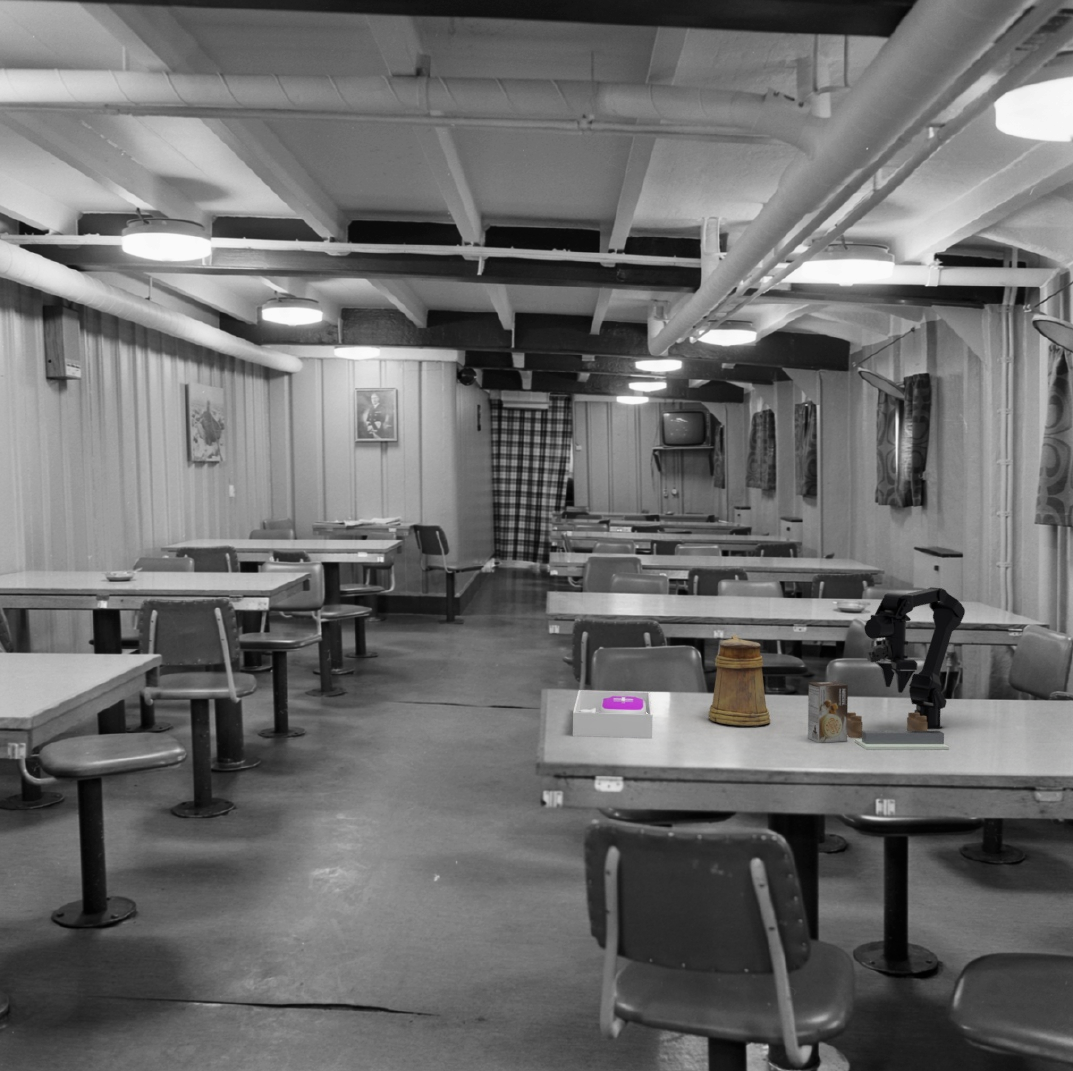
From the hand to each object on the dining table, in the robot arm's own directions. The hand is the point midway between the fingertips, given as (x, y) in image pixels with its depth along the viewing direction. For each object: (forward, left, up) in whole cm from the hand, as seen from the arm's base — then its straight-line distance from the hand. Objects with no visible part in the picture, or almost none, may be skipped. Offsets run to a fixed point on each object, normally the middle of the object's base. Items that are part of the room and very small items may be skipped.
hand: (893, 689), depth 306 cm
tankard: (+42, -17, -13) cm, 47 cm away
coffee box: (+23, +10, -13) cm, 28 cm away
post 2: (-6, +4, -12) cm, 14 cm away
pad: (+4, +17, -12) cm, 22 cm away
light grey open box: (+81, -11, -13) cm, 83 cm away
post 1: (+13, +4, -12) cm, 19 cm away
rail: (+4, +17, -12) cm, 21 cm away
